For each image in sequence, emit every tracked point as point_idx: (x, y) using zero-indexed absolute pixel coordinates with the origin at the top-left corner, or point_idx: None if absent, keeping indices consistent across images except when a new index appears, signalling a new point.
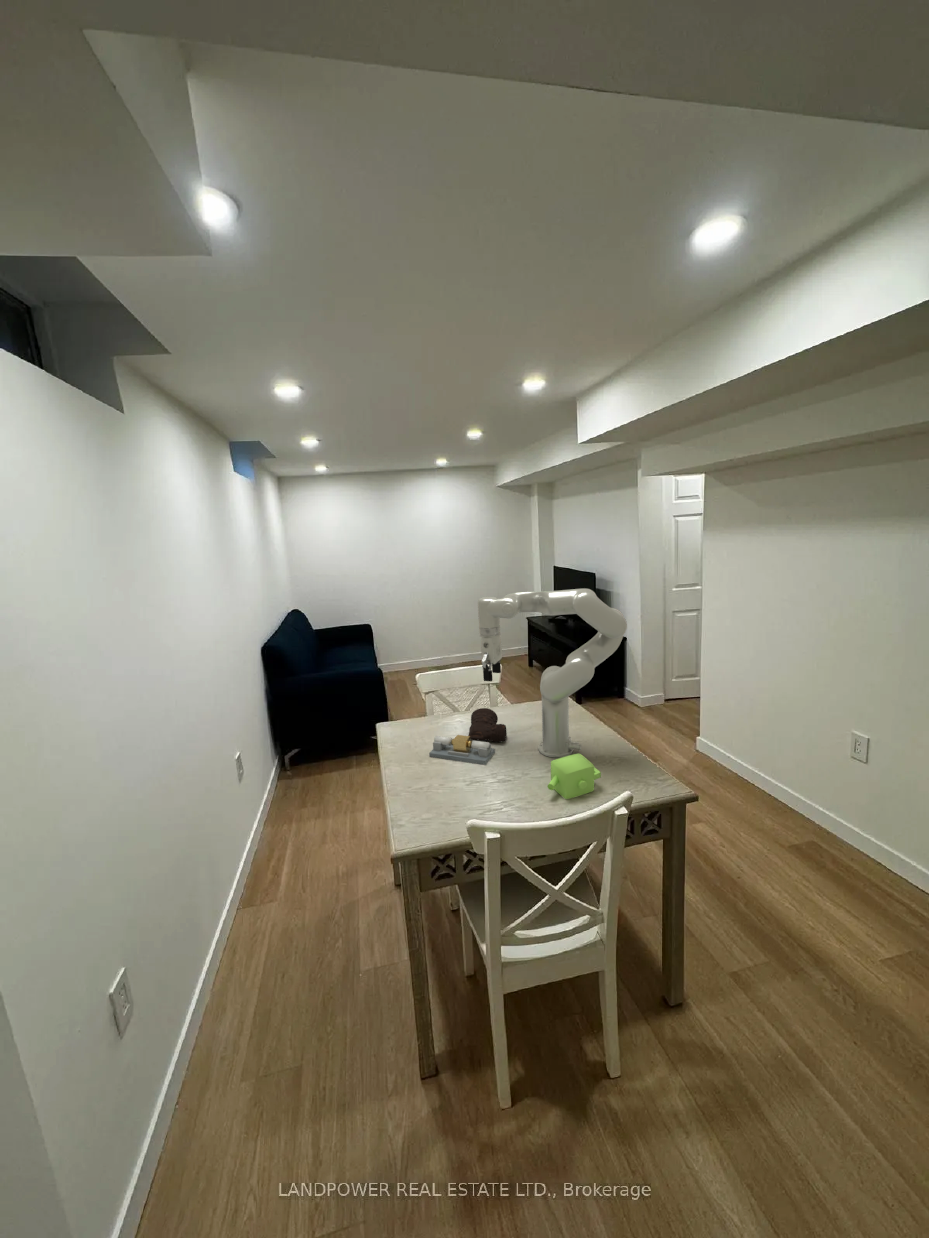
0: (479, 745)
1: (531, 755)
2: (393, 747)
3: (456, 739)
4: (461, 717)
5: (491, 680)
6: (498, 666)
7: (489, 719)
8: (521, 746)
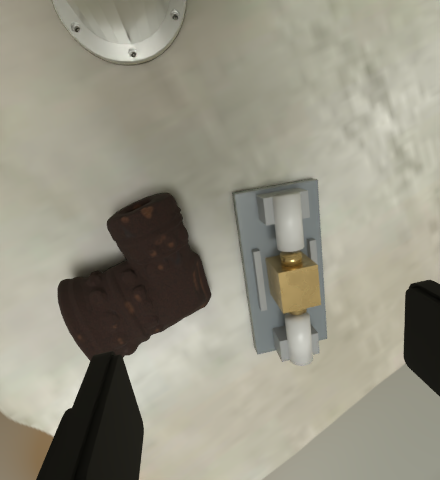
0: (301, 220)
1: (200, 69)
2: (310, 427)
3: (314, 297)
4: (60, 409)
5: (432, 286)
6: (106, 441)
7: (120, 289)
8: (155, 131)
